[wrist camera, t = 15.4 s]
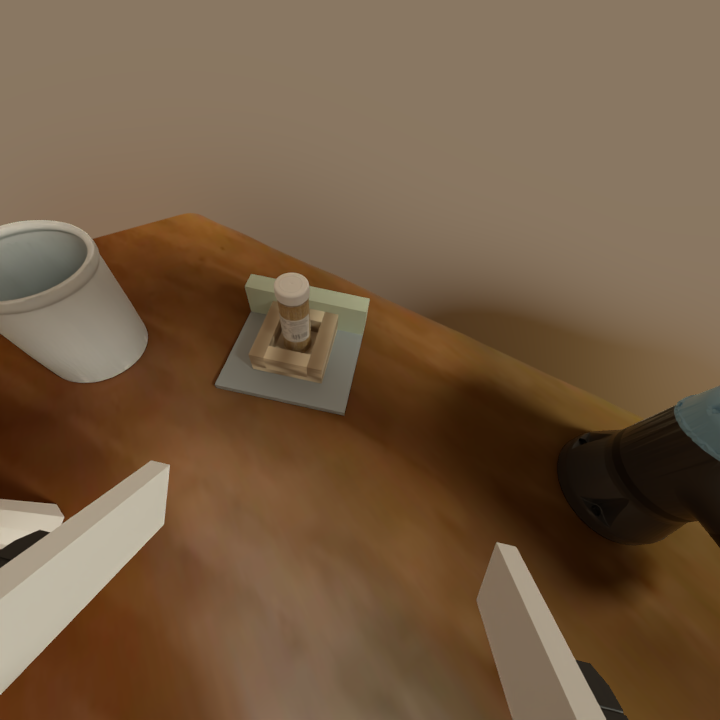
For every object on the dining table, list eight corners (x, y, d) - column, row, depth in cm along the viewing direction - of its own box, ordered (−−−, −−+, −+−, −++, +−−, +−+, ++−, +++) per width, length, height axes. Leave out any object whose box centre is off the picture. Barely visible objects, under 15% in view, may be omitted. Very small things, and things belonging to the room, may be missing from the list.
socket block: (337, 329, 58) (338, 314, 54) (321, 383, 52) (321, 370, 48) (275, 316, 58) (273, 300, 54) (253, 368, 52) (248, 354, 48)
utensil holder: (96, 299, 57) (19, 205, 43) (173, 325, 56) (120, 238, 41) (23, 366, 49) (-103, 279, 35) (110, 399, 48) (17, 323, 33)
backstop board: (365, 325, 60) (369, 298, 54) (344, 415, 50) (347, 394, 44) (258, 302, 60) (251, 273, 55) (216, 387, 51) (202, 363, 45)
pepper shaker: (8, 563, 37) (-97, 560, 28) (11, 514, 39) (-84, 497, 30) (65, 540, 38) (-15, 530, 29) (64, 495, 41) (-10, 472, 32)
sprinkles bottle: (311, 332, 55) (309, 271, 44) (311, 355, 53) (309, 296, 42) (283, 332, 55) (274, 270, 44) (282, 355, 52) (271, 296, 41)
